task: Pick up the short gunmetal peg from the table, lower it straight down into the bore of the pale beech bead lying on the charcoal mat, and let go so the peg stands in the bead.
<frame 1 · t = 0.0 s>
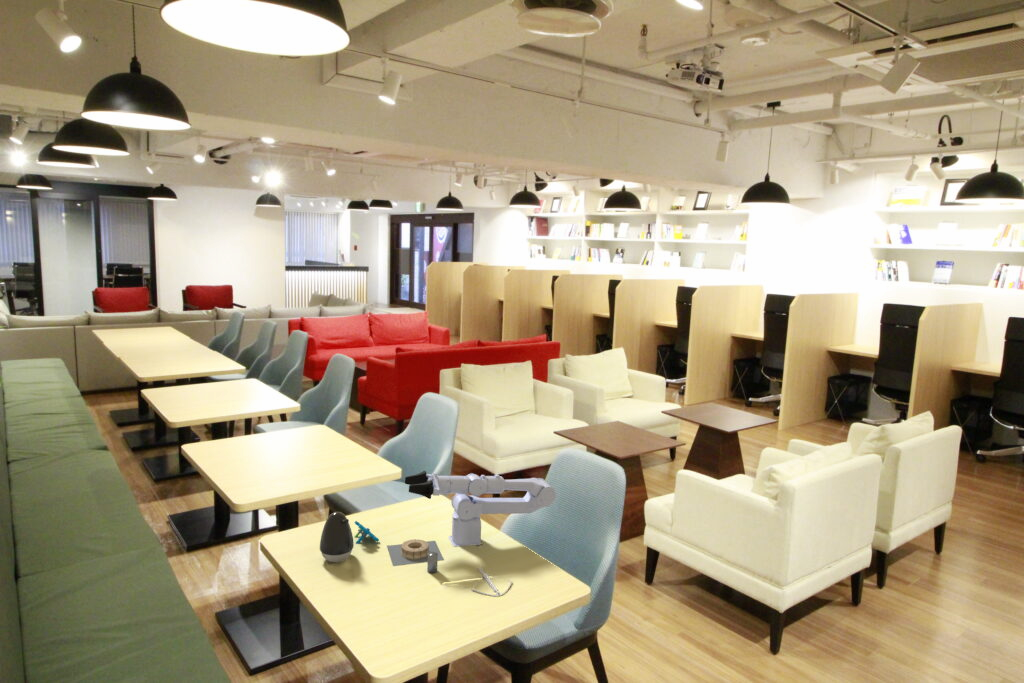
hand: (407, 484, 209), 22 cm above the table, tool horizontal, fingers open, 7 cm apart
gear: (366, 542, 216), on the table
mat: (414, 554, 208), on the table
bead: (414, 552, 208), resting on mat
peg: (432, 572, 197), on the table
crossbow: (488, 585, 193), on the table
pump dispenser: (337, 559, 204), on the table
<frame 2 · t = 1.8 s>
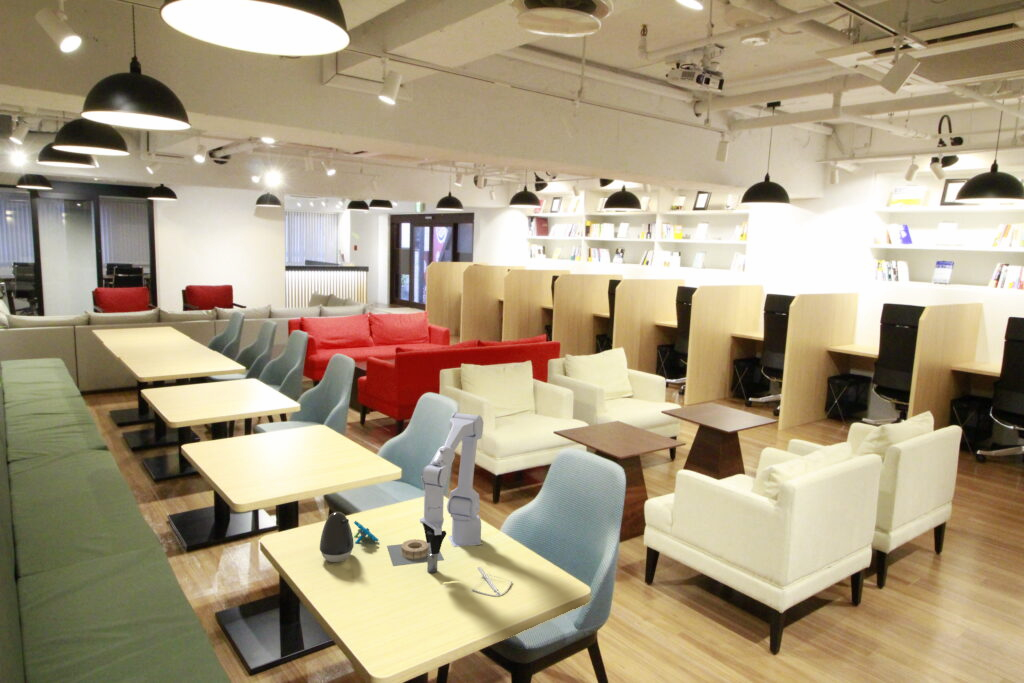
hand: (432, 547, 196), 8 cm above the table, tool pointing down, fingers open, 7 cm apart
nothing on the table moved.
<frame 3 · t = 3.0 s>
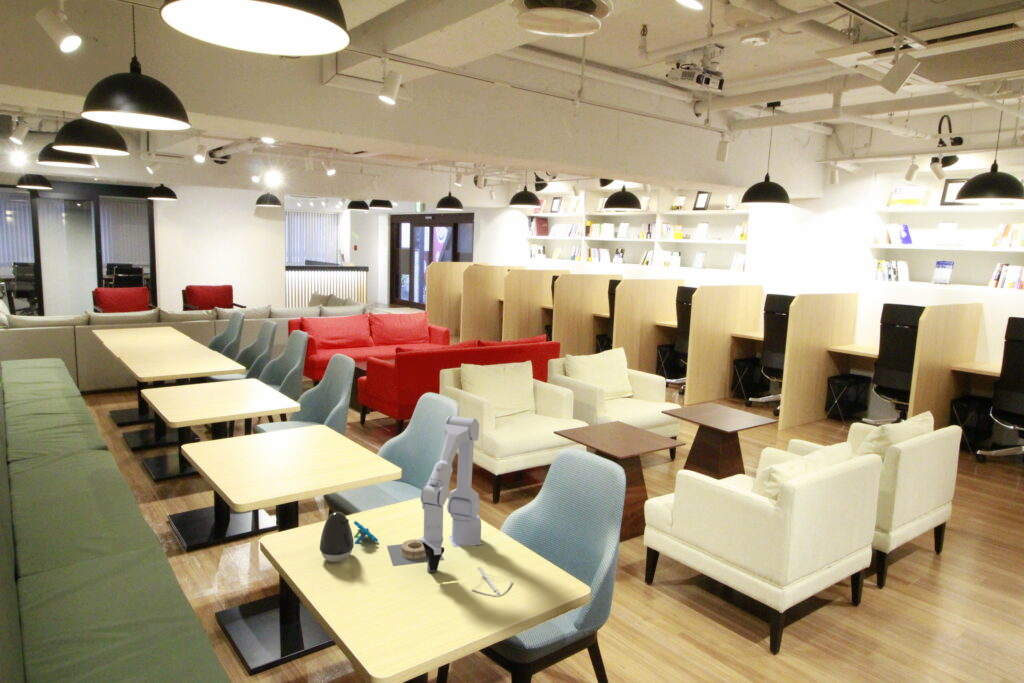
hand: (432, 566, 197), 2 cm above the table, tool pointing down, fingers closed on peg, 3 cm apart
peg: (432, 572, 197), on the table, touching gripper
everything else where it was.
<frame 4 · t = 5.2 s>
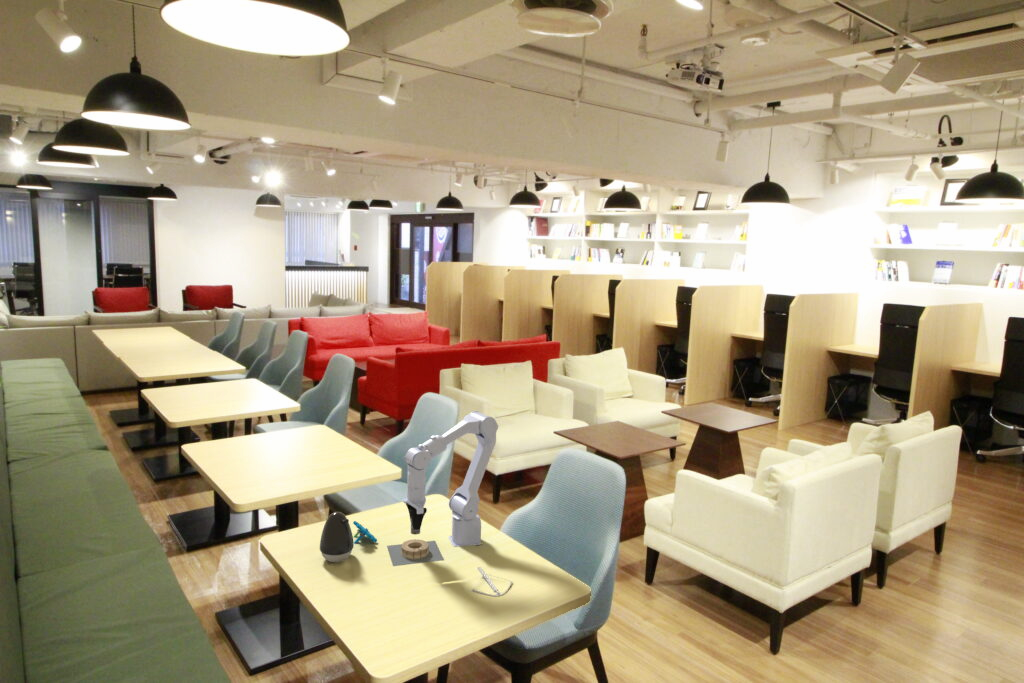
hand: (415, 526, 207), 9 cm above the table, tool pointing down, fingers closed on peg, 3 cm apart
peg: (415, 532, 207), point 7 cm above the table, touching gripper
everything else where it was.
when the fingers open (4 cm above the table, at t = 7.3 s): peg drops 1 cm, resting on mat.
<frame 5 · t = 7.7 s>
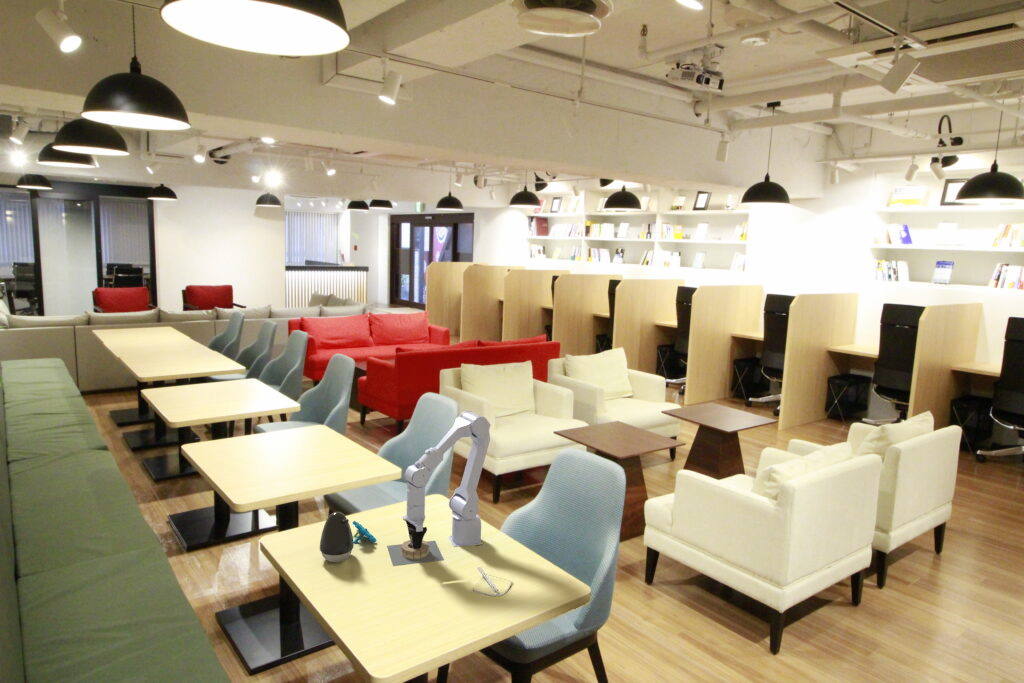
hand: (415, 543, 208), 4 cm above the table, tool pointing down, fingers open, 6 cm apart
peg: (414, 552, 208), point 1 cm above the table, touching mat
everything else where it was.
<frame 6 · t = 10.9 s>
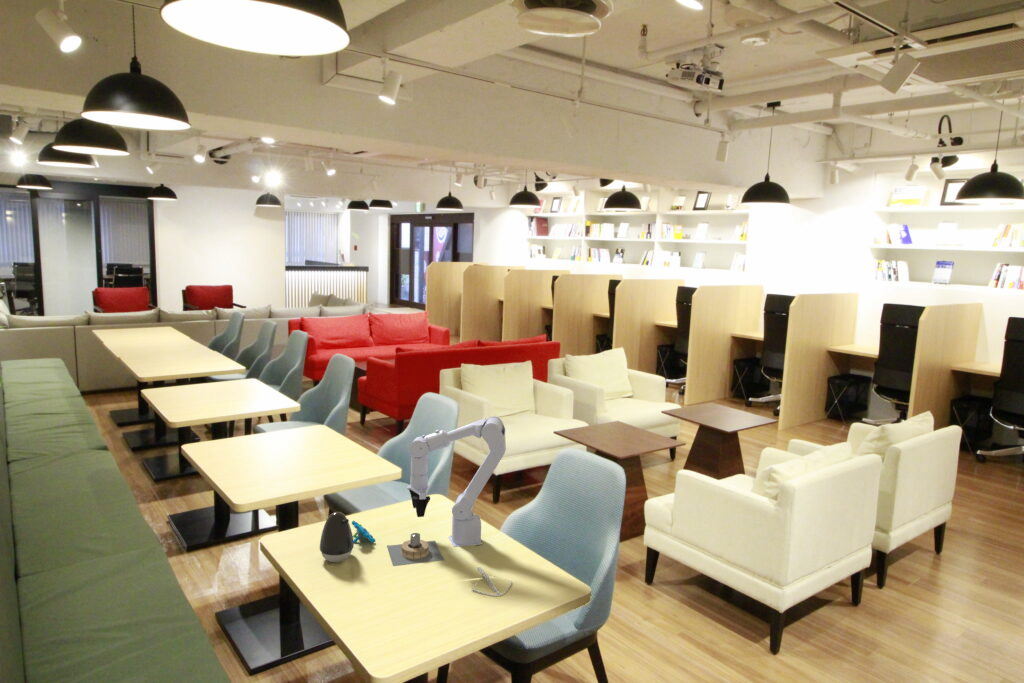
hand: (418, 512, 218), 9 cm above the table, tool pointing down, fingers open, 7 cm apart
at the end: peg 0.0 cm from the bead (horizontally); peg point 0.5 cm above the table; peg tilted 1° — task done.
